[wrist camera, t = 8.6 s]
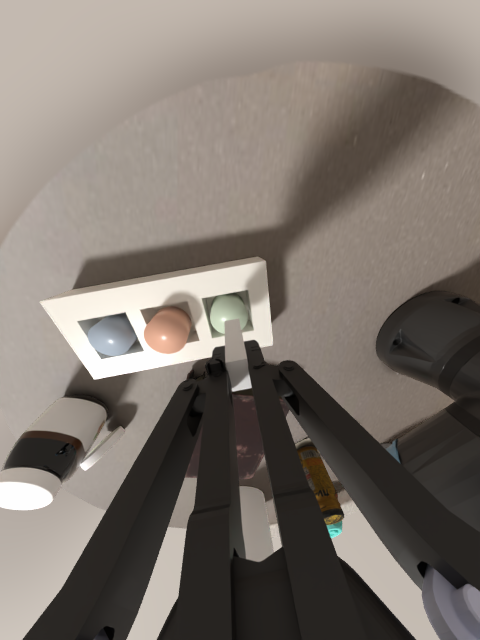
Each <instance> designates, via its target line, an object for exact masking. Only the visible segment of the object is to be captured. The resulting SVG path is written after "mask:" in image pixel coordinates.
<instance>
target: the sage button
mask: <svg viewBox="0 0 480 640" xmlns="http://www.w3.org/2000/svg"><path fill="white" fill-rule="evenodd" d="M238 318H239V321H240V326H241V330H242V329H243V328H244V327H245V325H246V323H247V320H248V313H247V310H246V307H245V305H244V302H243V300H242V298H241V297H240V296H239V295H238V294H236V293H228V294H223V295H217V296H216V297H215V298H214V299H213V301H212V305H211V314H210V321H211V324H212V326H213V327H214V328H215V329H216V330H217V331H218V332H220V333H223V334H225V327H224V321H227V320H233V319H238Z"/></svg>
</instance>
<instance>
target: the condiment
mask: <svg viewBox="0 0 480 640" xmlns="http://www.w3.org/2000/svg"><path fill="white" fill-rule="evenodd" d="M295 446H296V449H297V452H298V455H299V458H300V461H301V464H302V467H303V470H304V472H305V475H306V478H307V481H308V484H309V486H310V488H311V489H312V490H313V492H314V494H315V496H316V498H317V501H318V504H319V506H320V509H321V512H322V515H323V517H324V520H325V523H326V525H332V524H335V523H338V522H340V521H341V520H342V519H343V518H344V513H343V511H342V509H341V507H340V503H339V502H338V495H337V492H336V490H335V488H334V486H333V484H332V481H331V479H330V477H329V475H328V472H327V470H326V468H325V466H324V463H323V461H322V459H321V457H320V455H319V454H320V452H319V451H318V449H317V448H316V447H315V445H314V444H313V442H312V441H311V439H310V438H307V439H304V440H302V441H301V442H298V443H296V444H295Z"/></svg>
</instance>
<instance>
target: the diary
mask: <svg viewBox="0 0 480 640" xmlns="http://www.w3.org/2000/svg"><path fill="white" fill-rule="evenodd" d="M193 373H194V370H191V372H190V373H189V374H188V376H187V379H193ZM204 375H205V372H204ZM204 375H202V376H201V377H199V378H197V379H196V381H197V382H198V381H200V380H202V379H204V377H205V376H204ZM187 379H186V380H187ZM232 395H233V403H234V417H235V432H236V446H237V460H238V475H239V479H250V478H253V476H254V474H255V472H256V470H257V468H258V466H259V464H260V462H261V460H262V458H263V456H264V449H263V444H262V439H261V434H260V428H259V423H258V418H257V413H256V407H255V402H254V397H253V392H252V388H249V389H244V390H239V391H233V392H232ZM278 397H279V400H280V403H281V406H282V409H283V412H284V415H285V418H286V416H287V414H288V412H289V410H290V409H289V408H288V406H287V405H286V403H285V402H284V401H283V399H282V397H281V396H278ZM202 428H203V425H202ZM202 428H201V431H200V434H199V437H198V440H197V442H196V445H195V448H194V451H193V454H192V457H191V460H190V463H189V466H188V469H187V472H186V475H185V477H190V478H197V477H198V467H199V457H200V448H201V438H202Z"/></svg>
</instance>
